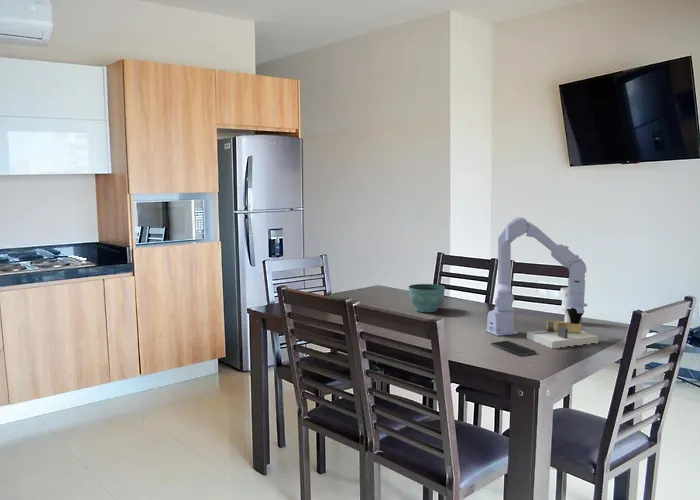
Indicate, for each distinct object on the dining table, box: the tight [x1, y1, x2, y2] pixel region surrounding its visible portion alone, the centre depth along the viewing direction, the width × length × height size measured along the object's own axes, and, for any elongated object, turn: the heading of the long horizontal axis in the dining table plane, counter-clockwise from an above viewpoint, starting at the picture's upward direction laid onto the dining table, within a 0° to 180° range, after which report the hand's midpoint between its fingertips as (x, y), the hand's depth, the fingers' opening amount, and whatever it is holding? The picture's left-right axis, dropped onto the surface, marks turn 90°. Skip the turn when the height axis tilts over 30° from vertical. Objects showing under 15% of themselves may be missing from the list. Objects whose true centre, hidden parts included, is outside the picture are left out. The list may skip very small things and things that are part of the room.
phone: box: [490, 340, 537, 357], centre depth 196 cm, size 8×1×15 cm
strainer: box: [559, 287, 572, 322], centre depth 233 cm, size 7×7×15 cm
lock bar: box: [545, 320, 583, 333], centre depth 209 cm, size 12×3×3 cm, turn 71°
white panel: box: [526, 326, 600, 349], centre depth 207 cm, size 20×14×6 cm
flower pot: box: [408, 283, 446, 313], centre depth 255 cm, size 16×16×11 cm
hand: (574, 328), depth 210 cm, fingers closed, pressing on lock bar
